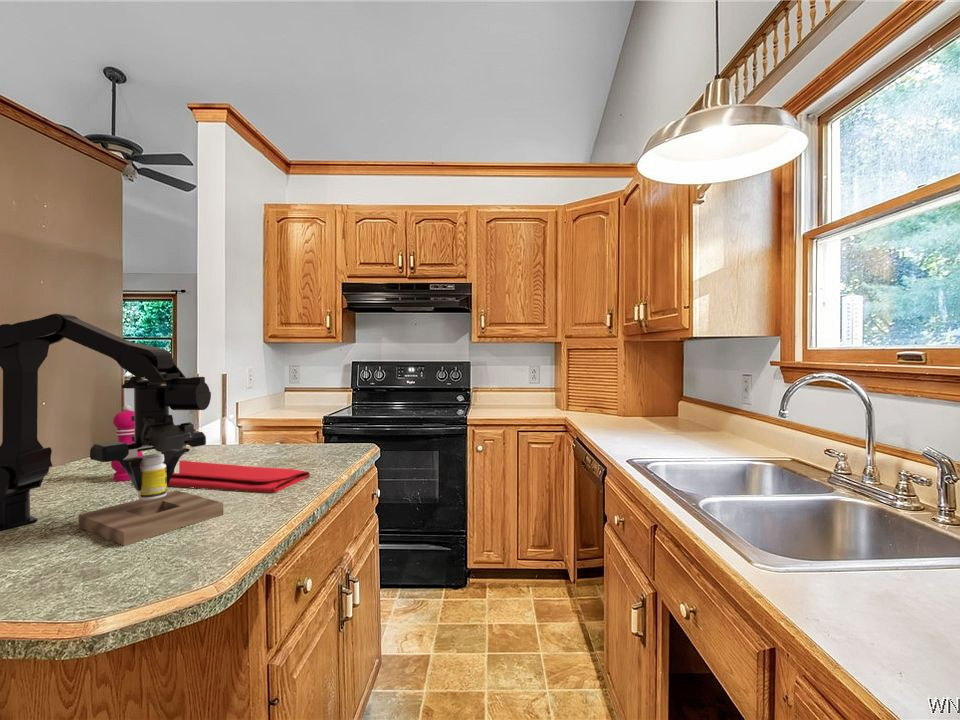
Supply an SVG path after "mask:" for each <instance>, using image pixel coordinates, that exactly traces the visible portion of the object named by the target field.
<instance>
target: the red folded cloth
mask: <svg viewBox="0 0 960 720" xmlns="http://www.w3.org/2000/svg"><path fill="white" fill-rule="evenodd" d="M310 475H311V474H310V472H309V471H307V470H306V471H304V470H299V469H293V468H278V467H277V468H276V467H261V466H260V467H259V466H248V465H237V464H224V463H212V462H201V461H189V460H178V462H177V464H176V466H175V469H174V471H173V474H172V476H171V479H170V482H169V484H167V487H169V486H175V487H174V488H183V487H194V488H193V489H198V488H208V489H207V490H212V489H223V490H222V491H229V490H237V491H236V492H245V491H248V492H247V493H262V492H264V494H265V493H266V494H276V492H277V493H278V492H280V491H282V490H284V488H285V489H286V487H287V488H289V487H291V486H292V484H293V485H294V484H296V483H299V482H301V480H302V481H304V480H306V479H308V478H309V477H310ZM303 479H304V480H303ZM290 485H291V486H290ZM288 486H289V487H288ZM279 490H280V491H279Z"/></svg>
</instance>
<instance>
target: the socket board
mask: <svg viewBox="0 0 960 720" xmlns="http://www.w3.org/2000/svg"><path fill="white" fill-rule="evenodd" d="M220 515H221V516H223V515H224V502H223V501H218V500H215V499H214V500H213V499H210V498H207V497H203V496H199V495H197V494H196V495H195V494H191V493H188V492H184V491H181V490H173V491H172V490H171V491H167V495H166V496H164V497H162V498H158V499H154V500H140V499H136V500H132V501H129V502H124V503H120V504H119V503H118V504H116V505H111V506H109V507H104V508H100V509H95V510H91V511H88V512H84V513H80V514H78V528H80V529H82V528H83V530H84V529H85V531H87V532H89V531H90V532H89V533H91V532H92V534H94V533H95V534H94V535H96V534H97V536H99V537H101V536H102V538H103V537H104V538H103V539H106V538H107V539H106V540H108V539H109V541H111V542H113V541H114V542H113V543H115V542H116V543H115V544H118V545H120V544H121V546H122V545H123V547H125V545H126V546H129V545H131V544H135V543H137V542H138V543H139V542H142V541H145V540H148V539H151V538H153V536H154V537H157V536H160V535H159V534H161V535H163V534H162V533H164V534H166V533H165V532H167V533H169V531H170V532H172V530H173V531H176V530H179V529H178V528H180V529H182V528H181V527H183V528H185V527H184V526H186V527H189V526H192V525H195V524H198V523H201V522H200V521H202V522H204V520H205V521H208V520H210V518H211V519H214V518H217V517H221V516H220ZM207 519H208V520H207ZM197 522H198V523H197ZM194 523H195V524H194ZM191 524H192V525H191ZM188 525H189V526H188ZM175 529H176V530H175ZM156 535H157V536H156ZM150 537H151V538H150ZM147 538H148V539H147ZM144 539H145V540H144ZM128 544H129V545H128Z"/></svg>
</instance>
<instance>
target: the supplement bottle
mask: <svg viewBox="0 0 960 720" xmlns="http://www.w3.org/2000/svg"><path fill="white" fill-rule="evenodd" d="M141 458H143V459H142V461H141V466H140V470H141V490H140V491H137V492H138V493H137V494H138V500H154V499H158V498H162V497H164V496H166V495H167V493H168V488H167V487H168V486H167V471H166V469H167V468H166V464H164V463H163V462H164V454H161V453H153V454H145V455H143V456H142V457H141Z"/></svg>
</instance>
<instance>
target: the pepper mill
mask: <svg viewBox="0 0 960 720" xmlns="http://www.w3.org/2000/svg"><path fill="white" fill-rule="evenodd" d="M122 410H123V411H120V412H117V413H116V414H115V415H114V417H113V420H112V424H113V426H115V427H116V429H115V435H116V436H117V442H122V443H126V444H129V443H135V442H133V441H132V436H135V430H134V421H131V416H134V410H132V407H131V406H130V405H129V404H125V405H123V407H122ZM142 456H144V454H143V451H139V452H138V457H142ZM110 466H111V469H113V470H114V471H115V473H113V482H118V481H122V482H129V481H128V480H130V478H129V476H128V474H127V472H126V471H125V469H124V468H123V467H122V465H121V464H120V463H119V462H118V461H110ZM140 466H141V464H140Z"/></svg>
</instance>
